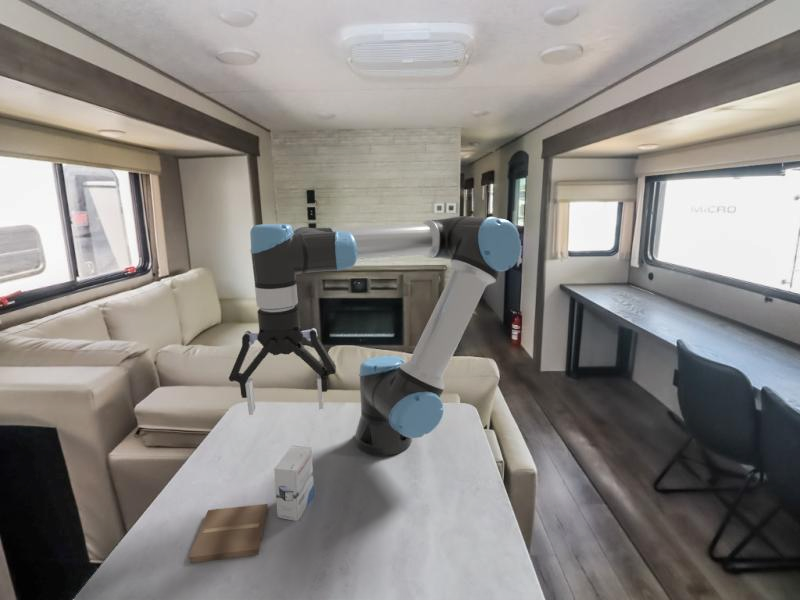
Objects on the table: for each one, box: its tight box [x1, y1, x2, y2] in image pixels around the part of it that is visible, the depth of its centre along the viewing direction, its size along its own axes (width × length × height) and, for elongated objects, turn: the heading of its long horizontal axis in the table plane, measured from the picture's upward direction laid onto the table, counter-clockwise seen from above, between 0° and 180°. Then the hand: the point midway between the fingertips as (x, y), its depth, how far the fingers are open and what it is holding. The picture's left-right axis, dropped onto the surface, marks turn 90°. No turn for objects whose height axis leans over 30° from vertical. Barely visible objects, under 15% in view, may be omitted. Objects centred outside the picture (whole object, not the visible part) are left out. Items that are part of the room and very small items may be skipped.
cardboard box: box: [188, 503, 269, 564], centre depth 83 cm, size 12×12×1 cm
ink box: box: [273, 445, 315, 522], centre depth 90 cm, size 9×5×12 cm, turn 168°
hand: (287, 408), depth 86 cm, fingers open, 13 cm apart
